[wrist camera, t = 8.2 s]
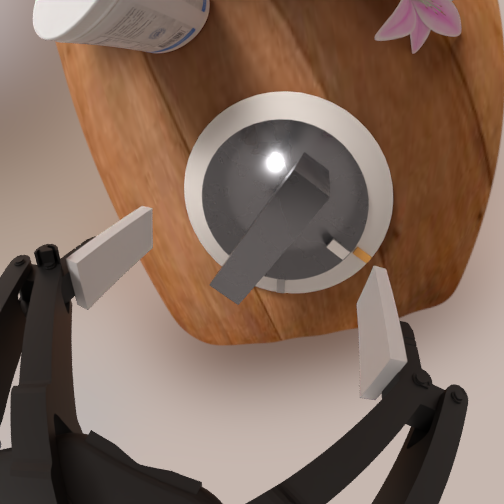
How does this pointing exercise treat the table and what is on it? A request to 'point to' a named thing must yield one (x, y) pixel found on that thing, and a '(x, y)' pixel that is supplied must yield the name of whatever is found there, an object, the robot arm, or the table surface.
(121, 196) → the table surface
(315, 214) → the dial
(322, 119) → the dial base
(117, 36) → the supplement tub
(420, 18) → the lily
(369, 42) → the table surface
